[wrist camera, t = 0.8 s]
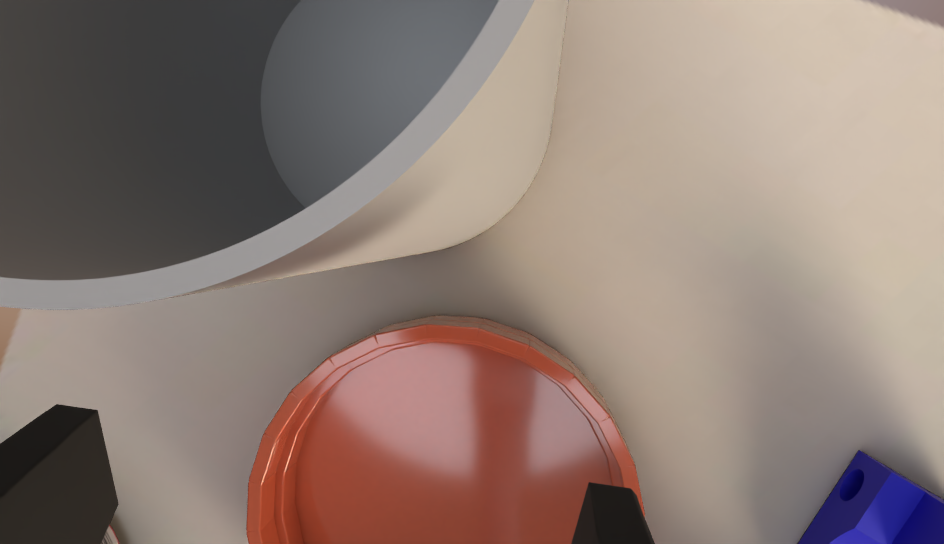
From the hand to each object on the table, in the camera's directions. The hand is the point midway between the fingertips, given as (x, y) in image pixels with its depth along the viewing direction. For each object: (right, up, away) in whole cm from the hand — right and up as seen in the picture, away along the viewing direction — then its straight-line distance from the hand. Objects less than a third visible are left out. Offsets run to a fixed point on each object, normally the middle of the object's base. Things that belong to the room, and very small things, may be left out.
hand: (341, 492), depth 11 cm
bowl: (+1, -7, +23) cm, 24 cm away
